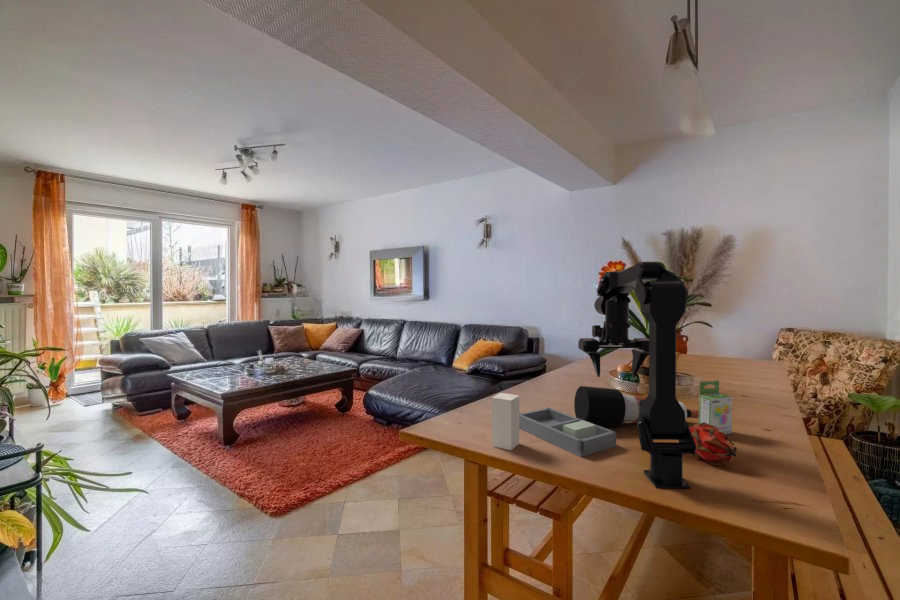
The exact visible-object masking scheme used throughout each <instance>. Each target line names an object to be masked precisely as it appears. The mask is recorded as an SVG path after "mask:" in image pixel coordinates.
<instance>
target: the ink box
mask: <svg viewBox="0 0 900 600" xmlns="http://www.w3.org/2000/svg"><path fill="white" fill-rule="evenodd" d="M710 385H712V386H714V387H712V388H705V387H706V386H707V387H708V386H710ZM698 398H699V399H698V400H699V403H698V404H699V405H698V411H699V418H698V423H699V424H700V423H702V422H705V423H707V424H709V425H713V426H715V427H717V428H718V429H719V432H722V433H724V434H726V435H731V434H732V433H733V397H732V396H730V395H726V394H724V393H720V380H719V379H717V380H707V381H700V382H699V395H698Z"/></svg>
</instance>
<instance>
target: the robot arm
mask: <svg viewBox="0 0 900 600" xmlns="http://www.w3.org/2000/svg"><path fill="white" fill-rule="evenodd" d="M596 292H597V293H596V295H597V296H598V297H597V298H596V299H595V301H594V304H593V305H594V309H595V311H596V312H597V313H598V314H600V315H602V316H605V320H604V321H603V325H602V326H603V327H601V325H600V324H598V325H597V324H596V325H595V324H594V325H592V328H591V336H592V337H583V338H579V339H578V342H577V345H578V347H577V348H578V349H580V350H581V351H582V352H583V353H585V354H587V355H588V356H589V358H590V360H591V363H592V365H593V368H594V370H595V371H594V372H595V374H596V376H597V377H598V378H600V377H601V352H599V350H600V349H631V353H632V362H631V363H632V364H631V377H632V378H636V375H637V374H638V372H639V370H640V368H641V366H642V364H643V363H644V361H645V360H646V358H647V357H648V393H647V394H648V395H647V396H645V397H646V399H641V400H640V403H639V417H638V421H637V424H636V426H637V432H638V440H639V444H640V449H641V451H643V452H644V451H645V452H647V453H648V454H649V455H650V461H649V463H650V464H649V465H650V468H649V469H643V474H644V475H645V477H646V478H647V479H648V480H649V481H650V482H651V483H652V484H653V486H654V487H656V488H669V489H670V488H671V489H672V488H673V489H691V485H690V483H688V482H687V480H685V478H684V477H683V474H684V470H683V468H684V467H683V465H684V455H691V456H692V455H694V454H695V450H696V445H695V442H694V440H693V437H692V435H691V432H690V430H689V428H690V426H689V425H688V422H687V419H685V411H684V410H683V408H682V407H681V405H680V404H679V402H680V401H678V399H677V397H676V396H677V395H676V392H677V325H678V323H680V321H681V319H682V318H683V316H684V315H685V313H686V311H687V302H688V299H689V292H688V288H687V287H686V285H685V284H684V283H683V281H682V279H681V278H680V276H677V274H675V273H673V272H672V271H670V270H668V269H666V267H664V265H663V263H662V262H659V261H639V262H635V264H634V265H631V266H630V267H627V268H625V269H623V270H621V271H617V270H615V271H605V272H604V274H603V275H602V276H601V279H600V280H599V283H598V285H597V288H596ZM631 292H634V294H635V296H636V298H637V300H638V302H639V305H640V307H639V308H640V312H641V314H642V315H643V317H644V318H645V320H646V321H647V323H648V334H649V335H648V337H634V338H633V340H630V339H629V329H630V328H631V323H630V322H629V318H630V316H629V313H630V311H629V310H630V304H631V301H632V300H631V298H630V297H629V296H630V294H631ZM596 338H598V339H596ZM660 440H661V441H662V440H663V441H664V440H665V441H666V442H665V441H664V442H658V441H660ZM667 441H668V442H667ZM669 441H678V442H669Z"/></svg>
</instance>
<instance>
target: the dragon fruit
mask: <svg viewBox="0 0 900 600" xmlns="http://www.w3.org/2000/svg"><path fill="white" fill-rule="evenodd" d="M689 430H690V432H691V435H692V437H693V440H694V442H695V445H696V450H695V454H694V455H691V456H692V457H697V456H700V457H701V458H702V459H703V460H704V461H705V462H707V463H708V464H710V465H713V466H722V465H721V464H720V463H719V462H716V461H722V462H728V463H731V462H732V461H733V460H734V458H737V455H736V453H737V450H738V447H736V446H735V445H736V444H735V443H734V442H732V441H731V440H732V438H730V436H728V434H724V433H722V432H719V429H718V428H717V427H715V426H713V425H709V424H707V423H705V422H702V423H700V424H699V422H695V423H694V424H692V426H691V425H690V426H689Z"/></svg>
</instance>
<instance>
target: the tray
mask: <svg viewBox="0 0 900 600" xmlns="http://www.w3.org/2000/svg"><path fill="white" fill-rule="evenodd" d="M519 430H522V431H525V432H526V433H529V434H530V435H533V436H535V437H538V438H539V439H541V440H544V441H545V442H547V443H550V444H553V445H554V446H556V447H558V448H561V449H562V450H565V451H567V452H569V453H572V454H573V455H576V456H578V457H579V458H583V457H586V456H589V455H592V454H595V453H596V454H597V453H598V452H603V451H606V450H609V449H612V448H616V447H617V432H616V431H614V430H611V429H608V428H606V427H603V426H602V425H595V424H592V423H590V422H587V421H584V420H582V419H579V418H576V416H573V415H570V414H567V413H564V412H562V411H559V410H556V409H555V408H551V407H546V408H541V409H535V410H531V411H526V412H521V413H519Z"/></svg>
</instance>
